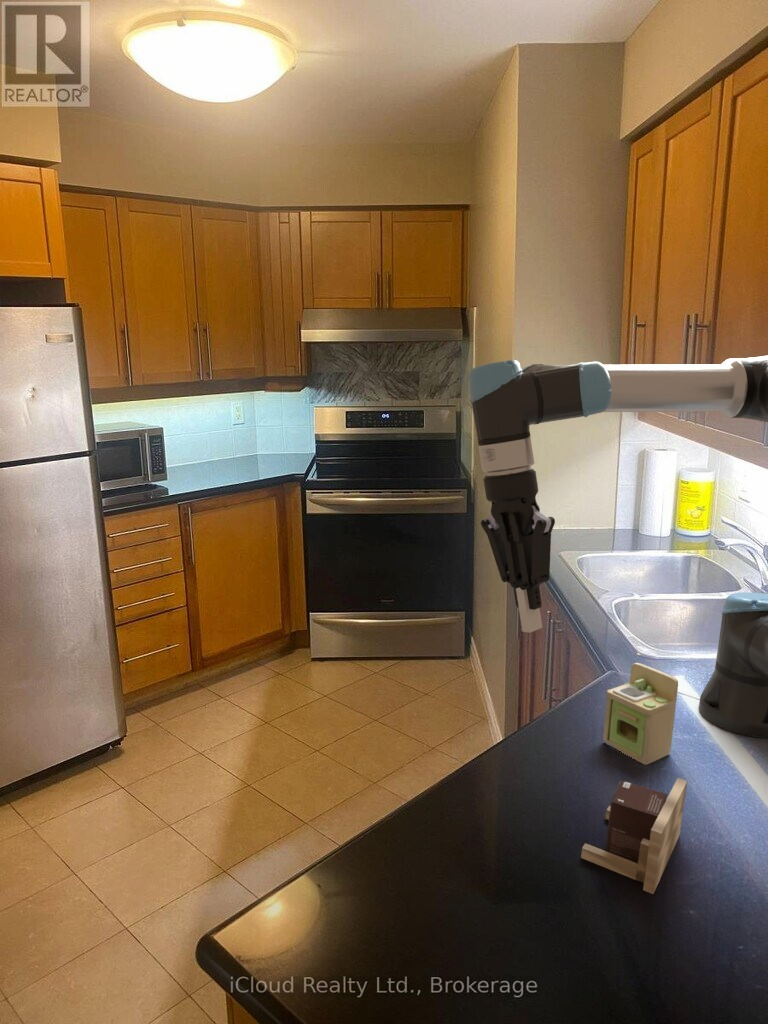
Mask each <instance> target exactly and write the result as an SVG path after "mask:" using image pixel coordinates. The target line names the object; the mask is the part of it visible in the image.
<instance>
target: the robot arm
mask: <svg viewBox="0 0 768 1024" xmlns="http://www.w3.org/2000/svg"><path fill="white" fill-rule="evenodd" d="M468 382H469V395H470V399H469V400H470V401H469V402H470V403H471V404H470V405H471V409H472V416H473V420H474V427H475V432H476V438H477V445H478V451H479V459H480V466H481V471H482V472H483V473H485V474H486V475H485V476H484V477H483V488H484V491H485V499H486V501H488V502H490V503H491V505H490V506H491V507H490V515H489V516H488V518H485V519H482V520H481V521H480V526H481V527H482V529H483V531H484V532H485V534H486V536H487V539H488V542H489V545H490V548H491V551H492V554H493V556H494V560H495V565H496V567H497V570H498V574H499V576H500V580H501V581H502V582H503V583H508V584H510V586H511V588H513V593H514V601H515V606H516V608H518V611H519V612H518V613H519V617H520V625H521V632H523V633H533V632H535V631H537V630H540V629H542V628H543V622H542V615H541V609H540V608H542V598H541V592H540V586H541V584H544V583H546V582H548V581H549V580H550V574H551V573H550V572H551V544H552V531H553V529H554V526H555V523H556V520H555V517H553V516H548V517H547V516H545V515H544V514H543V513H541V512H540V509H541V508H540V506H539V503H538V502H537V499H536V496H537V494H539V484H538V479H537V472H536V470H535V469H534V468H532V466H534V464H535V458H534V450H533V447H532V446H533V445H532V441H531V437H532V436H531V433H530V432H531V431H530V426H532V425H539V424H542V423H543V424H544V423H549V422H556V421H562V420H568V419H574V418H575V419H577V418H581V417H584V418H587V417H589V416H592V415H597V414H601V413H715V412H716V413H718V414H720V416H721V417H722V418H725V419H747V420H754V421H758V422H764V423H768V355H763V356H756V357H755V356H754V357H747V358H746V357H745V358H744V357H743V358H742V357H739V358H735V357H734V358H728V359H726V360H725V361H723V362H722V363H721V364H603V363H602V362H600V361H589V362H581V361H580V362H579V363H574V364H542V363H541V364H540V363H539V364H538V363H535V364H534V363H533V364H531V365H528V366H526V367H524V368H521V363H520V362H519V361H518V360H516V359H510V360H503V361H501V360H500V361H497V362H496V361H495V362H491V363H490V362H489V363H485V364H481V365H478V366H475V367H474V368H472V369H471V370H470V371H469V374H468ZM721 615H722V616H721V624H720V630H719V636H718V637H719V639H718V645H717V652H716V660H715V665H714V671H713V672H712V675H711V676H710V678H709V680H708V682H707V683H706V685H705V687H704V689H703V690H702V692H701V694H700V696H699V703H698V711H699V713H700V715H701V716H702V717H703V718H705V720H707V721H709V723H712V724H714V725H715V726H718V727H719V728H720V729H721V728H722V729H724V730H726V731H730V732H732V733H736V734H740V735H744V736H750V737H754V738H765V739H766V738H768V593H760V592H734V593H731V594H730V595H728V596H727V597H726V598H725V602H724V605H723V608H722V611H721Z"/></svg>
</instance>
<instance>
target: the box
mask: <svg viewBox="0 0 768 1024" xmlns="http://www.w3.org/2000/svg"><path fill="white" fill-rule="evenodd" d="M667 798H668V794H667V793H666V792H662V791H659V790H655V789H652V788H648V787H644V786H642V785H641V786H640V785H638V784H634V783H631V782H629V781H628V782H627V781H622V780H621V781H619V783H618V786H617V788H616V789H615V792H614V795H613V796H612V799H611V802H610V806H611V808H610V815H609V820H608V825H607V834H606V841H605V842H606V843H605V850H604V851H607V852H609V853H612V854H614V855H617V856H619V857H622V858H624V859H627V860H630V861H632V862H635V863H637V864H638V859H639V851H640V844H641V841H642V839H643V838H644V839H647V840H649V841H650V834H651V829H652V827H653V825H654V823H655V821H656V819H657V817H658V815H659V813H660V812H661V810H662V808H663V806H664V804H665V802H666V800H667Z"/></svg>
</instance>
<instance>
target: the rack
mask: <svg viewBox="0 0 768 1024" xmlns="http://www.w3.org/2000/svg"><path fill="white" fill-rule="evenodd" d="M687 785H688V780H685V779H683V778H680V777H677V778H676V780H675V782H674V784H673V786H672V788H671V790H670V792H669V794H668V795H667V797H666V802H665V804H664V806H663V808H662V810H661V812H660V813H659V815H658V817H657V819H656V821H655V823H654V825H653V827H652V829H651V834H650V841H649V840H647V839H644V838H643V839H642V841H641V844H640V851H639V859H638V863H637V862H634V861H631V860H628V859H625V858H622V857H619V856H617V855H614V854H612V853H609V852H607V851H605V850H604V849H601V848H599V847H596V846H593V845H591V844H589V843H586V842H585V843H584V844H583V846H582V848H581V852H580V853H581V855H580V858H581V859H583V860H586V861H588V862H590V863H593V864H595V865H597V866H600V867H603V868H605V869H606V870H610V871H613V872H615V873H618V874H620V875H623V876H625V877H628V878H630V879H632V880H635V881H637V882H640V883H642V884H643V886H642V887H643V889H642V890H643V891H645V892H646V893H649V894H652V895H654V894H655V891H656V890H657V887H658V884H659V883H660V881H661V877H662V876H663V873H664V871H665V869H666V867H667V865H668V863H669V860H670V858H671V855H672V853H673V851H674V849H675V847H676V844H677V842H678V840H679V838H680V835H681V828H682V821H683V813H684V807H685V799H686V792H687ZM606 808H607V809H606V811H605V820H607V821H609V815H610V808H611V805H608V807H606Z"/></svg>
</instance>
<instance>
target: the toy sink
mask: <svg viewBox="0 0 768 1024" xmlns="http://www.w3.org/2000/svg"><path fill="white" fill-rule="evenodd" d="M629 677H630V678H629V682H626V683H624V684H622V685H618V686H617V687H616V686H615V687H612V688H611V689H607V690H606V705H605V715H604V726H603V737H602V741H603V740H604V741H606V742H607V743H609V744H611V745H612V746H613V747H615V748H616V749H618V750H619V751H621V752H622V753H621V752H620V753H621V754H623V753H624V754H623V755H625V754H626V755H625V756H627V755H628V756H627V757H629V756H630V757H629V758H631V757H632V758H631V759H633V760H634V759H635V761H636V762H639V763H640V764H642V765H644V766H646V765H650V764H652V763H654V762H657V761H658V760H660V759H663V758H664V757H666V756H667V757H668V756H669V755H670V754H671V749H672V742H673V741H672V740H673V733H674V732H673V731H674V723H675V716H676V708H677V699H678V689H679V688H678V687H679V680H678V678H676V677H675V676H672V675H670V674H669V673H665V672H663V671H661V670H658V669H656V668H653V667H651V666H648V665H646V664H643V663H640V662H634V663H632V664H631V668H630V675H629ZM619 751H618V752H619Z"/></svg>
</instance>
